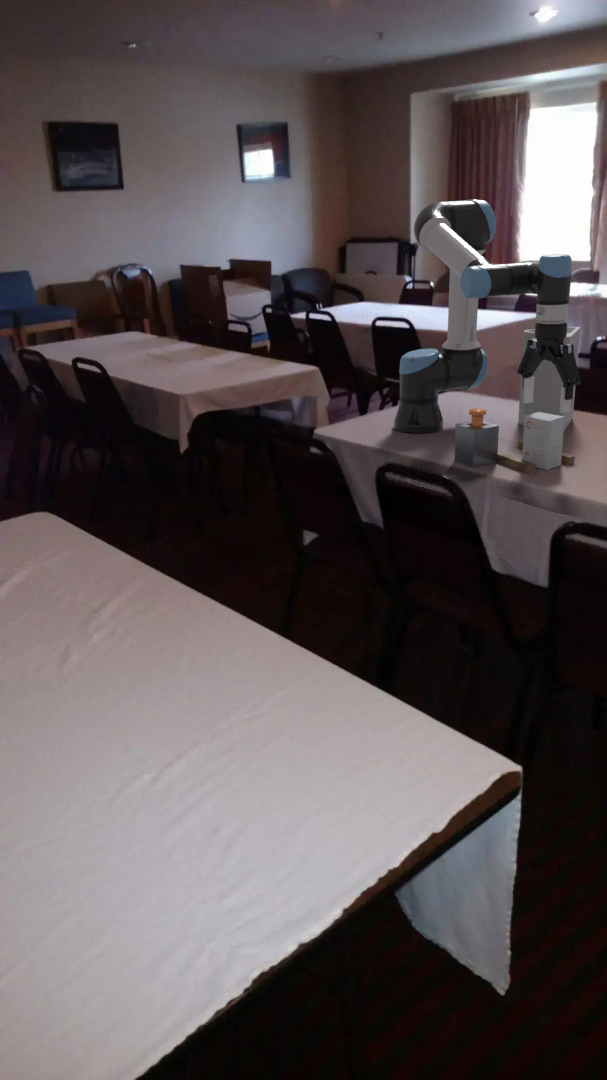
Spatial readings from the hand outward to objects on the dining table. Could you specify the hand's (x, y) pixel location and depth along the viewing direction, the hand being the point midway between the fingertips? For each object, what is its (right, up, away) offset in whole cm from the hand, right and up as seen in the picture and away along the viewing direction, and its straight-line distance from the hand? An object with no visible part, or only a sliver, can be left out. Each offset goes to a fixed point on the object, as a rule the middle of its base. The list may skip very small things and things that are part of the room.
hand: (545, 407), depth 204 cm
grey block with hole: (-15, -13, +11) cm, 23 cm away
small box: (+1, -14, +6) cm, 16 cm away
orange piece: (-16, -6, +9) cm, 19 cm away
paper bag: (+12, +2, +43) cm, 45 cm away
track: (-2, -12, +11) cm, 16 cm away
